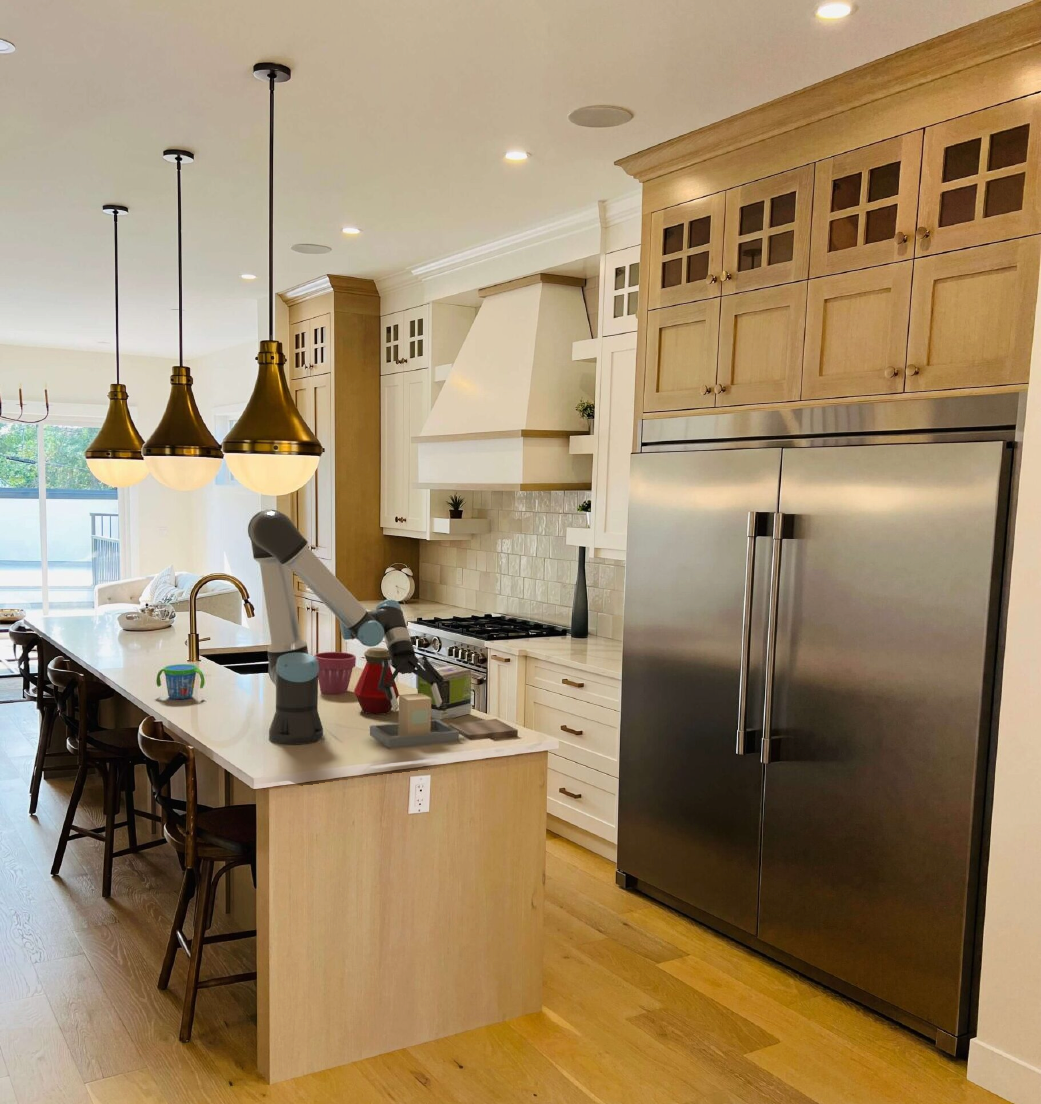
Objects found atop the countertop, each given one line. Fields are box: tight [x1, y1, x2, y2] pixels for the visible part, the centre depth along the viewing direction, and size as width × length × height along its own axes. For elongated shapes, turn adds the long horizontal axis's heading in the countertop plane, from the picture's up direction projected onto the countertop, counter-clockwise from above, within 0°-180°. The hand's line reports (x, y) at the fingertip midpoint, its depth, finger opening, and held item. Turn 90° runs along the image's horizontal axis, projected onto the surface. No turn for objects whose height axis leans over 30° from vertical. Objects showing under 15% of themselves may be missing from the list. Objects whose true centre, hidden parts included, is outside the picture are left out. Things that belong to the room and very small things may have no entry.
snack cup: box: [155, 663, 205, 700], centre depth 318 cm, size 16×11×10 cm
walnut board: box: [448, 718, 519, 740], centre depth 287 cm, size 16×14×2 cm
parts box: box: [397, 692, 432, 737], centre depth 276 cm, size 7×7×12 cm
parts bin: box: [369, 718, 460, 750], centre depth 277 cm, size 21×15×4 cm
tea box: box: [417, 665, 472, 721], centre depth 307 cm, size 15×10×15 cm
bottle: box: [353, 647, 400, 715], centre depth 309 cm, size 16×14×20 cm
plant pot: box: [313, 651, 357, 695], centre depth 335 cm, size 14×14×13 cm
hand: (418, 706), depth 279 cm, fingers open, 13 cm apart
